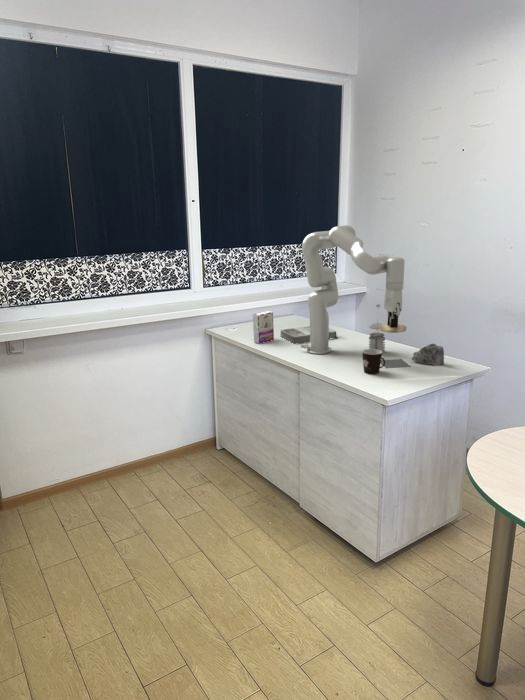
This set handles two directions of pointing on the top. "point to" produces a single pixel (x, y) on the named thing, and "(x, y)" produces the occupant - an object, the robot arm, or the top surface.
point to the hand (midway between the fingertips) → (392, 325)
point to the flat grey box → (301, 334)
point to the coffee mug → (372, 361)
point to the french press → (377, 337)
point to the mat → (394, 363)
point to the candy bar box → (263, 327)
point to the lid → (392, 328)
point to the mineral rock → (430, 355)
